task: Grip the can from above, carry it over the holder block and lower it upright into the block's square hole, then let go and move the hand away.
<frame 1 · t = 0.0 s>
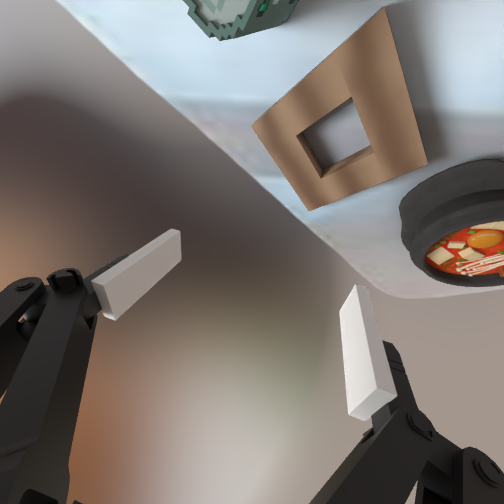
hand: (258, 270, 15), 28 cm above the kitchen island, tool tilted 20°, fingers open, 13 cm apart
casserole: (467, 219, 34), on the kitchen island
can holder: (335, 135, 31), on the kitchen island
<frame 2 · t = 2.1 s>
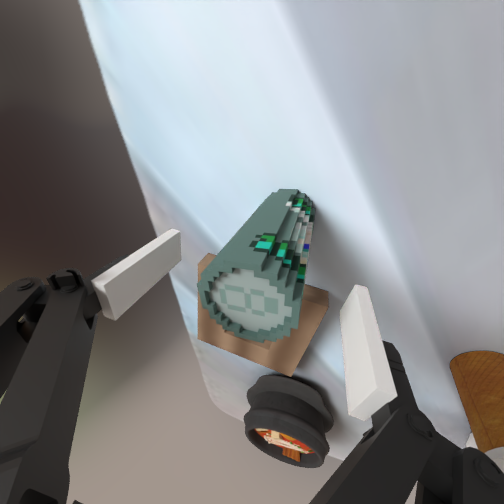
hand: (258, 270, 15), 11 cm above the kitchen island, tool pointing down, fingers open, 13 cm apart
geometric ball: (488, 431, 32), on the kitchen island
casserole: (288, 399, 46), on the kitchen island
disposable coffee cup: (480, 364, 26), on the kitchen island
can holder: (255, 312, 34), on the kitchen island
can: (287, 214, 24), on the kitchen island
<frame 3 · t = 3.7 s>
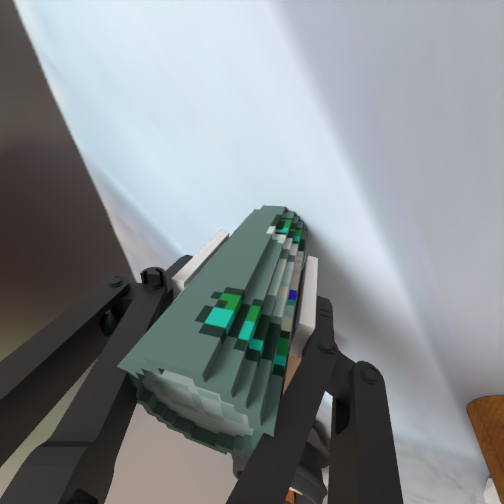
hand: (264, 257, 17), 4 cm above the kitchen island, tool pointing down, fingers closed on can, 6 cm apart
casserole: (282, 429, 41), on the kitchen island
disposable coffee cup: (503, 409, 22), on the kitchen island
can: (274, 235, 20), on the kitchen island, touching gripper
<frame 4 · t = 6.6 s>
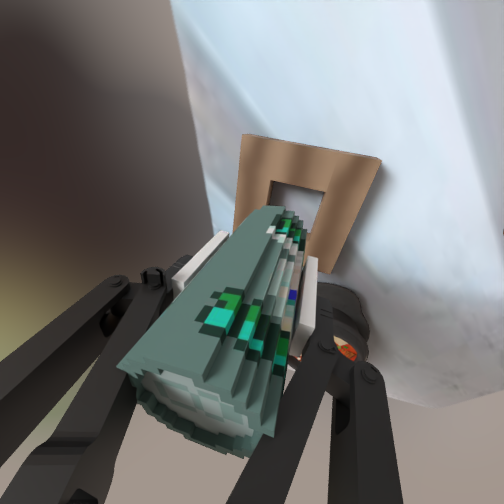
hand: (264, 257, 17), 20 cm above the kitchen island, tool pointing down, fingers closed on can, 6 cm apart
casserole: (319, 321, 45), on the kitchen island
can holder: (293, 205, 34), on the kitchen island
can: (274, 235, 20), point 15 cm above the kitchen island, touching gripper
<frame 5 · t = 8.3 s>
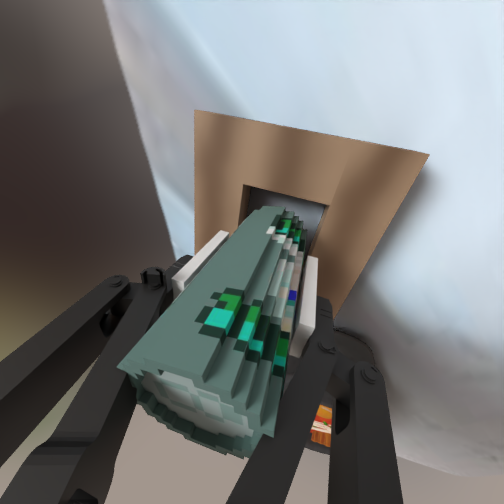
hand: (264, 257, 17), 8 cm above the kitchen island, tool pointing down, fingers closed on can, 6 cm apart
casserole: (317, 368, 34), on the kitchen island
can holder: (280, 222, 23), on the kitchen island
can: (274, 236, 20), point 4 cm above the kitchen island, touching gripper
when the fingers open (5 cm above the kitchen island, at t = 9.4 s): can drops 1 cm, resting in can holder.
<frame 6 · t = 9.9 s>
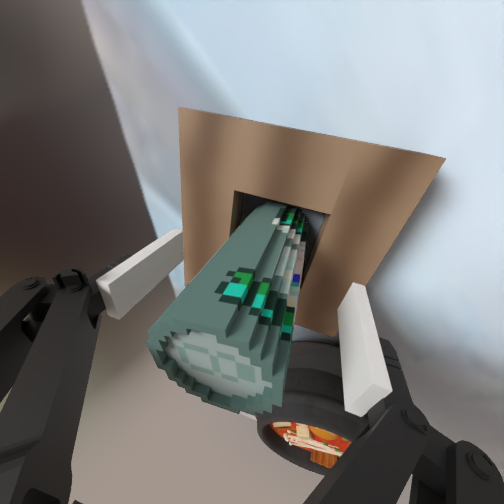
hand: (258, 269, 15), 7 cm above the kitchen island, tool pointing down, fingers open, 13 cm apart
casserole: (316, 382, 32), on the kitchen island
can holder: (276, 230, 21), on the kitchen island
can: (277, 229, 21), resting in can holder
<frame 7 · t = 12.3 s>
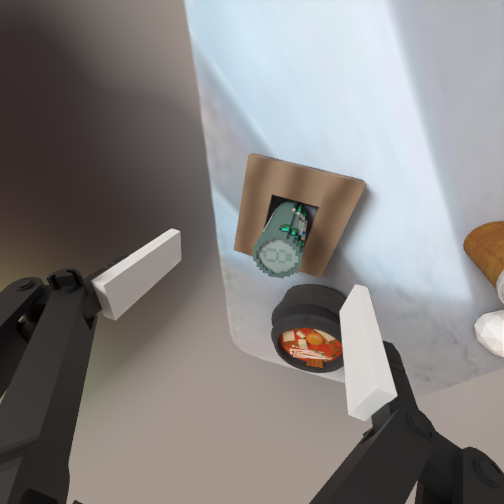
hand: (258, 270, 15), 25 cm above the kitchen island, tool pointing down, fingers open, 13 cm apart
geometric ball: (492, 316, 37), on the kitchen island
casserole: (310, 319, 50), on the kitchen island
disposable coffee cup: (489, 239, 31), on the kitchen island
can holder: (290, 216, 38), on the kitchen island
can: (291, 216, 38), resting in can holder
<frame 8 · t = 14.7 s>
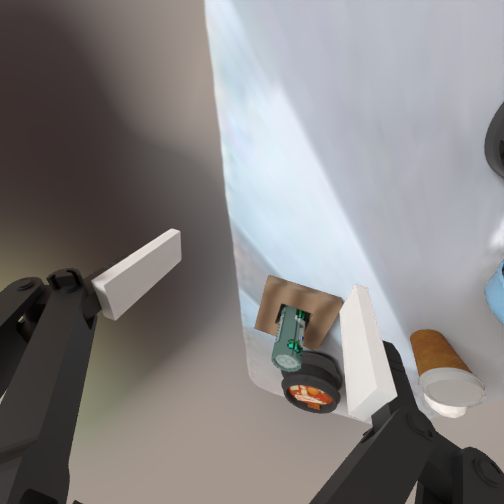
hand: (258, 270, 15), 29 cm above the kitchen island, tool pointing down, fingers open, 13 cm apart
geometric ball: (436, 381, 53), on the kitchen island
casserole: (310, 370, 66), on the kitchen island
disposable coffee cup: (426, 338, 48), on the kitchen island
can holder: (294, 310, 55), on the kitchen island
can: (294, 309, 55), resting in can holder
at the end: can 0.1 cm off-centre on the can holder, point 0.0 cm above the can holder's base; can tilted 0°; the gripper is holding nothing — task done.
